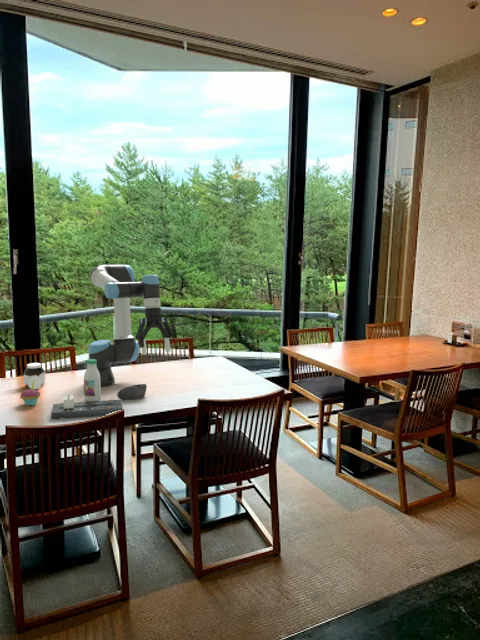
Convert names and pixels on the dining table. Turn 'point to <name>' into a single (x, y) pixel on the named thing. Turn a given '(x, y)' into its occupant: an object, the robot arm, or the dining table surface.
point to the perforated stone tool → (132, 392)
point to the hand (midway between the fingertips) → (156, 353)
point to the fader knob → (68, 401)
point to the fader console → (86, 409)
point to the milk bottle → (92, 382)
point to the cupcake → (30, 396)
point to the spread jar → (34, 375)
